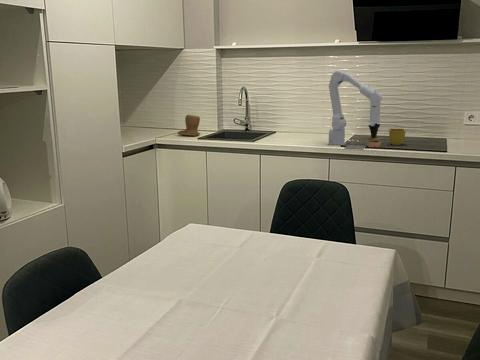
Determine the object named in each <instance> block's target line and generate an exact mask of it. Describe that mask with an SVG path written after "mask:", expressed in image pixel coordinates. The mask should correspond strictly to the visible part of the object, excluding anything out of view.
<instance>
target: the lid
mask: <svg viewBox="0 0 480 360" xmlns="http://www.w3.org/2000/svg"><path fill="white" fill-rule="evenodd" d="M376 134H377V135H378V132H376ZM365 138H366V140H367V141H370V140H376V141H380V140H382V137H381V136H375V137H371V136H366V137H365Z"/></svg>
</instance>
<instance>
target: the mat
mask: <svg viewBox="0 0 480 360" xmlns="http://www.w3.org/2000/svg"><path fill="white" fill-rule="evenodd" d="M364 148H365V149H366V148H368V147H367V145H354V144H347V145H346V146H345V147H344V148H343V149H346V150H360V151H361V150H365V149H364Z"/></svg>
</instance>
